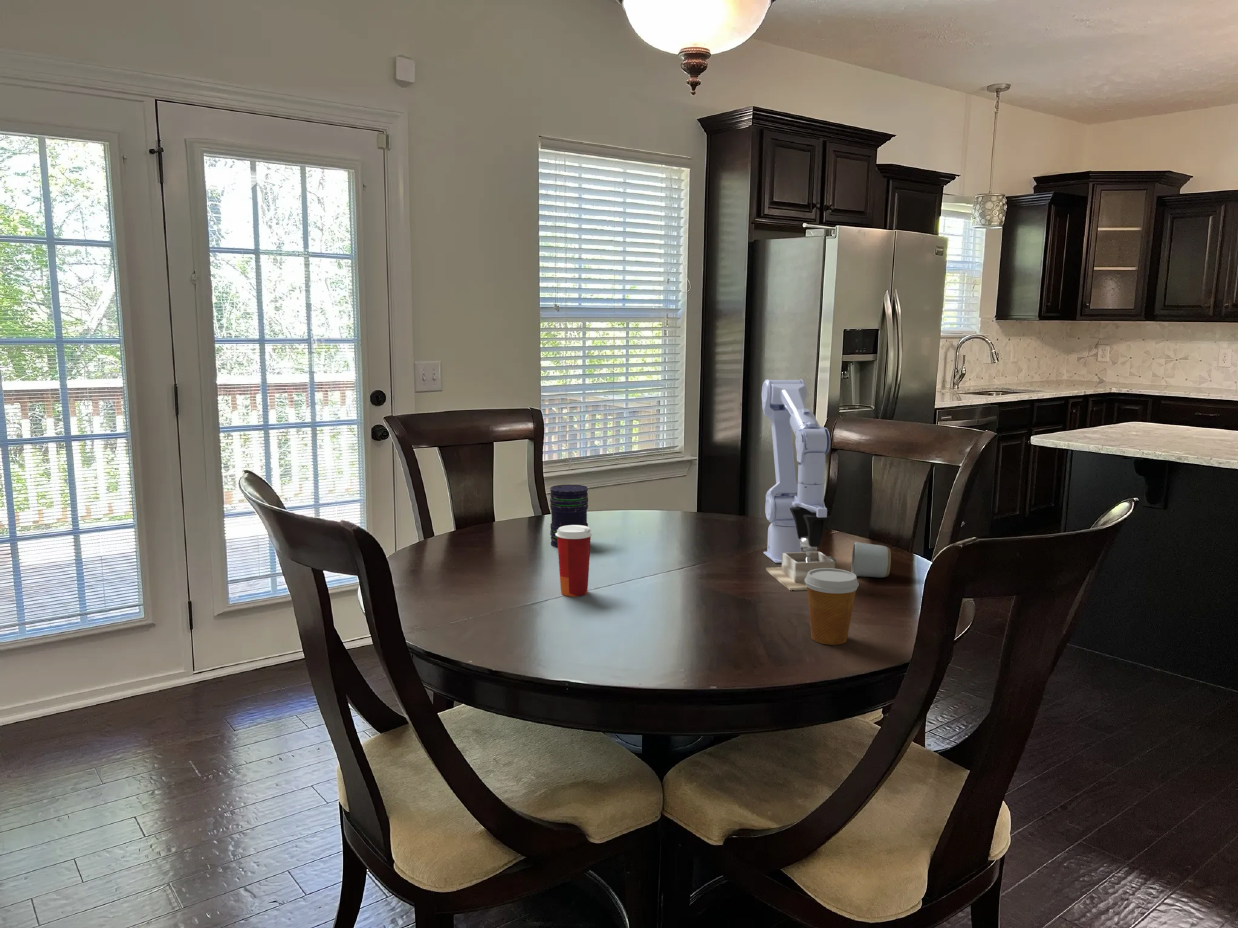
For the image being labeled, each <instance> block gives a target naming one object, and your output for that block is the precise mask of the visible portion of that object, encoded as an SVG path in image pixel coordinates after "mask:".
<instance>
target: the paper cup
mask: <svg viewBox="0 0 1238 928" xmlns="http://www.w3.org/2000/svg"><path fill="white" fill-rule="evenodd" d="M555 535H556V536H557V541H558V548H557V553H558V554H557V555H558V567H559V568H558V569H559V584H560V593H561V595H563V596H565V597H569V598H570V597H572V598H577V597H582V596H583V597H584V596H585V595H587V594H588V590H589V589H588V588H589V587H588V586H589V571H590V560H591V559H590V557H591V556H590V555H591V538H592V536H593V533H592V531H591V528H590V527H589V526H588V527H587V526H582V525H567V526H562V527H559V528H558V530H557V533H556V534H555Z"/></svg>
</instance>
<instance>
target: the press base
mask: <svg viewBox="0 0 1238 928" xmlns="http://www.w3.org/2000/svg"><path fill="white" fill-rule="evenodd" d="M810 560H817V561H818V562H796V561H806V551H801V552H793V553H782V563H781V566H780V567H779V566H777V567H765V571H766V572H767V573H769V575H771V576H772V577H773V578H774V579H775V580H777V581H778V582H779V583H780V584H781V585H783V586H784V587H785V588H786V589H787V590H788V591H790V590H791V591H792V590H794V591H807V586H806V583H805V578H806V577H807V573H808V572H809V571H810V570H813V569H820V568H833V569H836V562H837V560H836V559H835V558H834V557H833V556H830V555H829V556H827V555H826V554H824V553H823V552H821V551H811V555H810Z"/></svg>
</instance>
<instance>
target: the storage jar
mask: <svg viewBox="0 0 1238 928" xmlns="http://www.w3.org/2000/svg"><path fill="white" fill-rule="evenodd" d="M588 493H589V492H588V486H586V485H583V484H582V485H581V484H557V485H553V486H550V497H549V507H550V510H551V517H550V518H551V522H550V527H549V528H550V530H549V531H550V532H549V535H550V540H551V541H550V546H551V547H553V548H556V549H558V541H557V536H556V535H555V534H556V533H557V530H558V528H559V527H562V526H567V525H582V526H587V527H589V524H588V508H589V495H588Z"/></svg>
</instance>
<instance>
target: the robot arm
mask: <svg viewBox="0 0 1238 928" xmlns="http://www.w3.org/2000/svg"><path fill="white" fill-rule="evenodd" d="M807 393H808V392H807V385H806V383H805V381H804V380H803V379H800V378H799V379H765V380H764V381H763V383H762V387H761V403H762V404H761V407H762V411H763V415H764V416H765V417H767V418H769V422H770V427H771V434H772V449H773V460H774V461H773V462H774V470H775V471H774V472H775V473H774V475H775V484H774V485H773V486H772V487H770V488H769V489H768V490H767V491H766V494H765V505H764V508H765V509H764V512H765V517H766V519H767V521H768V522H769V525H768V529H767V551H763V554H764V555H765V556H766V557H767V558H769V559H770V560H771V561H772V562H774V563H775V564H782V553H793V552H802V550H801V549H800V542H801V537H808V540H809V545H810V547H817V548H818V547H820V546H821V544H822V539H823V536H824V532H825V530H826V528H827V526H828V525H829V523H830V522H831V521H832V519H831V516H830V515H828V508H827V507H826V505H825V502H824V500H825V499H824V498H825V497H824V496H825V475H826V474H825V473H826V472H825V471H826V455H828V453H829V451H830V448H831V435H830V432H829V429H828V428H827V427H824V426H820V424H819V422H818V420H817V417H816V416H815V414H814V412H813V411H812V410H810V409H808V408H807V407H806V404H805V401H806V399H807ZM792 432H793V433H794V436H795V440H794V441H795V442H794V443H795V451H796V461H797V462H798V465H797V466H798V467H797V468H798V470H797V478H796V468H795V467H796V466H795V455H794V444H793V433H792Z"/></svg>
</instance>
